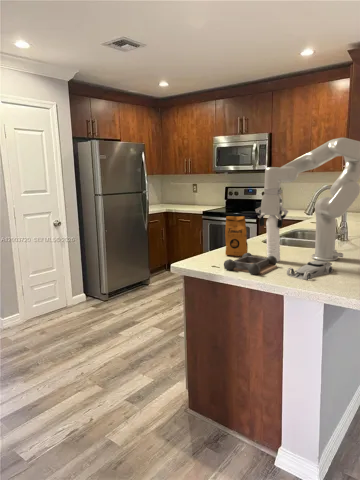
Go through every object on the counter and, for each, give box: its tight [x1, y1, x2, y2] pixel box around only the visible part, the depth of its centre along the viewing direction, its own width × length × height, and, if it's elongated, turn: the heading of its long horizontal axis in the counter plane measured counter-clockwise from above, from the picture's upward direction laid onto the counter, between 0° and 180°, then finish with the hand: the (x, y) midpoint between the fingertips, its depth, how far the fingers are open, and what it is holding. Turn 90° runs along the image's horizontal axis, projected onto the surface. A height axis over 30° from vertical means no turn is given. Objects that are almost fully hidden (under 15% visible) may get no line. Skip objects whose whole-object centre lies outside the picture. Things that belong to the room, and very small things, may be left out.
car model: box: [286, 260, 334, 281], centre depth 157 cm, size 11×24×5 cm, turn 125°
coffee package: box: [224, 215, 249, 257], centre depth 195 cm, size 10×12×22 cm
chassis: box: [223, 252, 278, 276], centre depth 168 cm, size 20×19×5 cm
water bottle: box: [260, 212, 281, 263], centre depth 179 cm, size 9×6×25 cm
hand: (270, 226), depth 178 cm, fingers open, 9 cm apart
